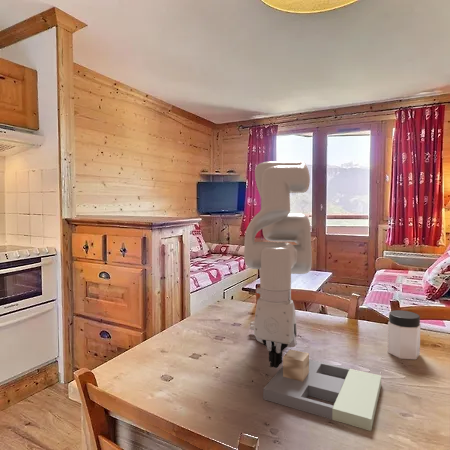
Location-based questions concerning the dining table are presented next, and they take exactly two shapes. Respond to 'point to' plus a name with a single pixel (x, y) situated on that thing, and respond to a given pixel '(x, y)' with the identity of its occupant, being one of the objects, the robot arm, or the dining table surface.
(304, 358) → the birch block
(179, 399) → the dining table surface
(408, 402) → the dining table surface
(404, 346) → the jar
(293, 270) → the robot arm
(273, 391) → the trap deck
